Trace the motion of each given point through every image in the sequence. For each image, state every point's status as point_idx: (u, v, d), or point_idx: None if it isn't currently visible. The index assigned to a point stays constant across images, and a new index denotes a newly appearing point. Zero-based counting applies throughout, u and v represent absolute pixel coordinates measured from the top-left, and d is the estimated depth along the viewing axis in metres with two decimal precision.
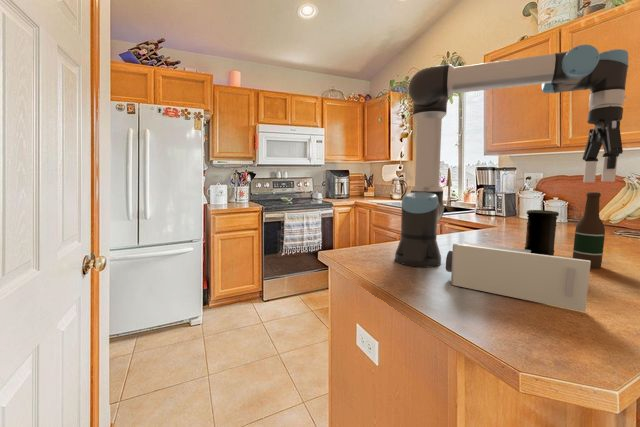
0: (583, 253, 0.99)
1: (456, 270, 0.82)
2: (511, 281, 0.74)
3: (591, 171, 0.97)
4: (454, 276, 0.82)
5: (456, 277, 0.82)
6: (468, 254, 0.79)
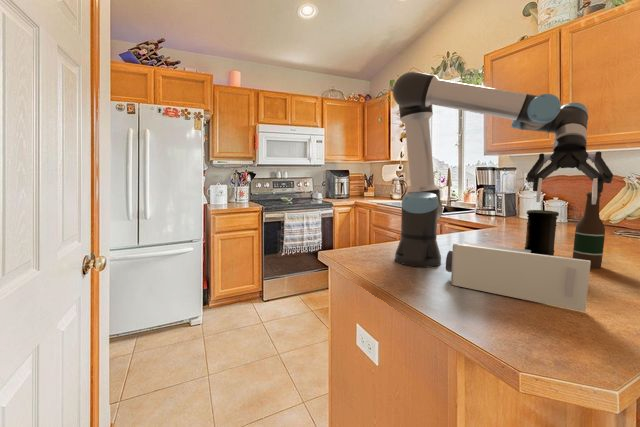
0: (583, 252, 0.99)
1: (456, 270, 0.82)
2: (511, 281, 0.74)
3: None
4: (454, 276, 0.82)
5: (456, 277, 0.82)
6: (468, 254, 0.79)
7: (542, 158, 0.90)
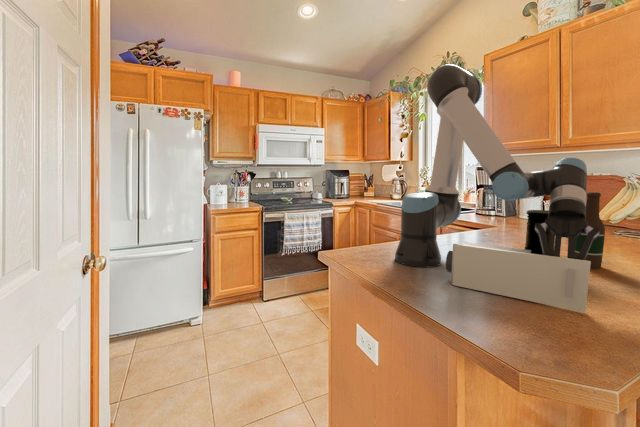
0: None
1: (456, 270, 0.82)
2: (511, 281, 0.74)
3: None
4: (454, 276, 0.82)
5: (456, 277, 0.82)
6: (468, 254, 0.79)
7: (542, 229, 0.79)
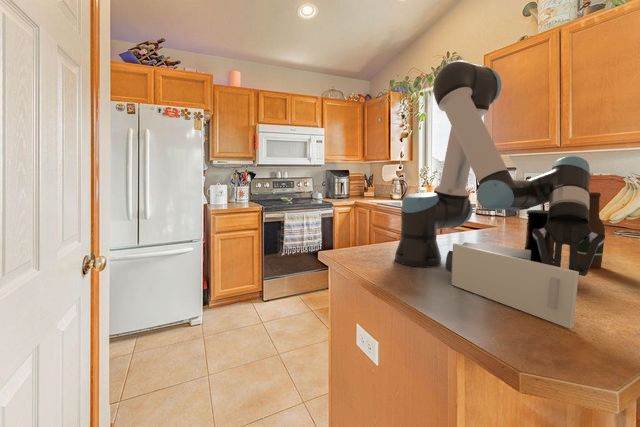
0: (583, 253, 0.99)
1: (455, 270, 0.82)
2: (500, 286, 0.71)
3: None
4: (453, 276, 0.82)
5: (455, 277, 0.82)
6: (464, 255, 0.79)
7: (541, 235, 0.71)
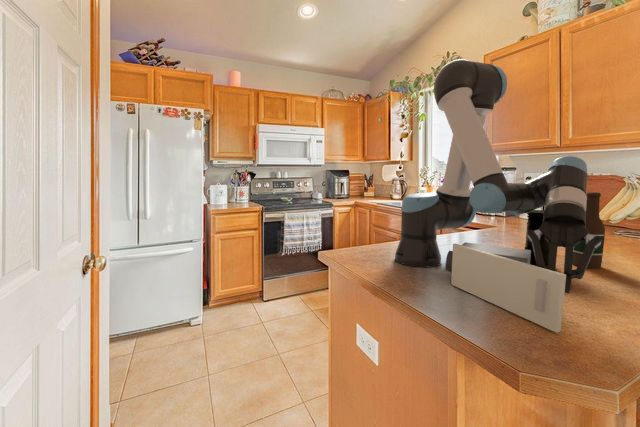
0: (583, 252, 0.99)
1: (454, 270, 0.82)
2: (494, 287, 0.70)
3: None
4: (453, 276, 0.82)
5: (454, 277, 0.82)
6: (463, 255, 0.79)
7: (536, 236, 0.69)
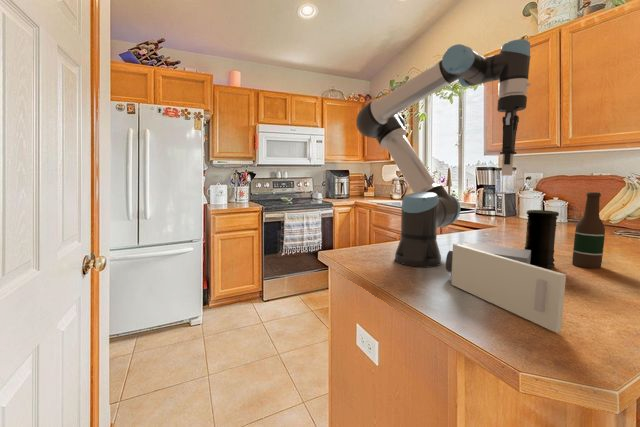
0: (583, 252, 0.99)
1: (454, 270, 0.82)
2: (494, 287, 0.70)
3: None
4: (453, 276, 0.82)
5: (454, 277, 0.82)
6: (463, 255, 0.79)
7: None
